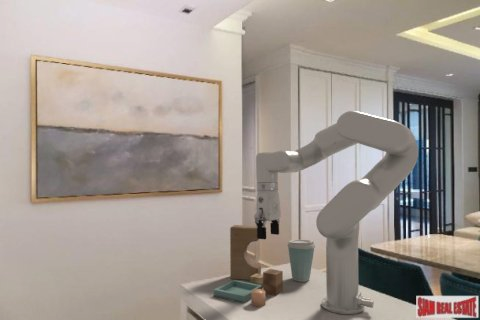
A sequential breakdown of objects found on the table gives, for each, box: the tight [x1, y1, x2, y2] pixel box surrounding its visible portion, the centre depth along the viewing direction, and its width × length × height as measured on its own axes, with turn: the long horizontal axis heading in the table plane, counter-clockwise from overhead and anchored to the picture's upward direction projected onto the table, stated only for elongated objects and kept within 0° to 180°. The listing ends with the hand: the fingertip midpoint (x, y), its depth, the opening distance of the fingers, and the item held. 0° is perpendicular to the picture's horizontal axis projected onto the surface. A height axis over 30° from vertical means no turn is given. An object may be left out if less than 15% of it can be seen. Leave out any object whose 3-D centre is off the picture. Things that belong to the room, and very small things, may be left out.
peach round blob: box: [250, 289, 266, 308], centre depth 109 cm, size 4×4×4 cm
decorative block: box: [229, 224, 262, 281], centre depth 135 cm, size 11×6×20 cm, turn 72°
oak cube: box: [250, 273, 263, 286], centre depth 125 cm, size 4×4×4 cm
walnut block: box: [262, 268, 284, 297], centre depth 120 cm, size 5×5×7 cm
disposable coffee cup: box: [287, 239, 316, 282], centre depth 134 cm, size 11×11×15 cm
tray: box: [213, 279, 263, 304], centre depth 118 cm, size 12×12×2 cm
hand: (268, 236), depth 121 cm, fingers open, 9 cm apart
